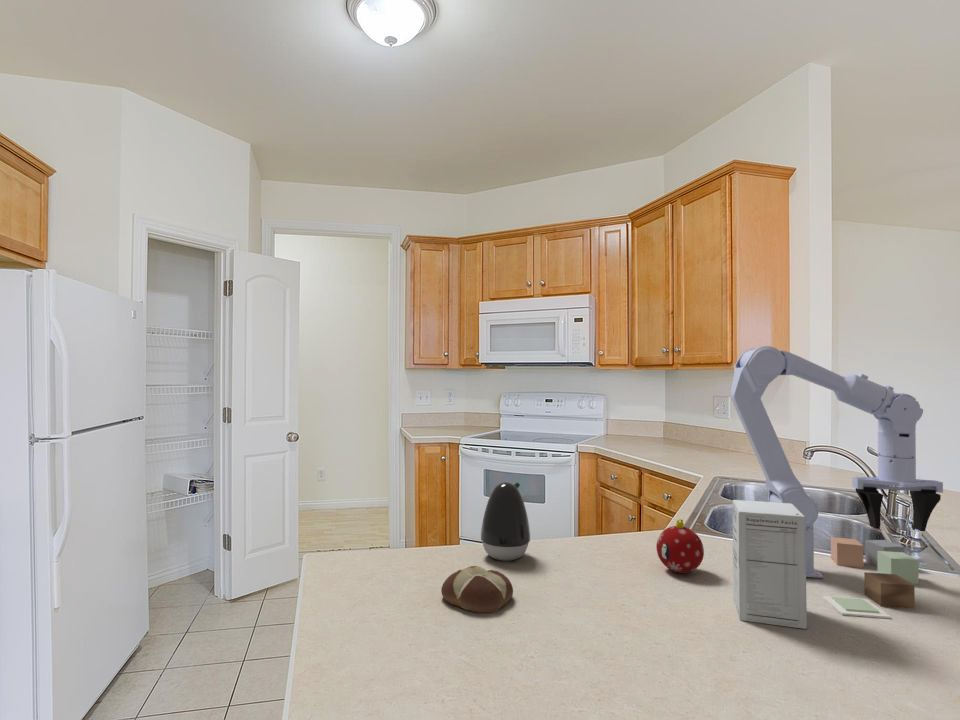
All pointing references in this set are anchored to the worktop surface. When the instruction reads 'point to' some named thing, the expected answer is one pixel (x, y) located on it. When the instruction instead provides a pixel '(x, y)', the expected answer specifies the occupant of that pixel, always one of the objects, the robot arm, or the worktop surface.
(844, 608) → the swatch
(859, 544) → the terracotta block
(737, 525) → the supplement box
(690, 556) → the christmas ornament
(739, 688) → the worktop surface
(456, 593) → the bread
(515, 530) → the black egg-shaped figure
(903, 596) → the walnut base block
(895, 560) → the sage block
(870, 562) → the slate grey block
